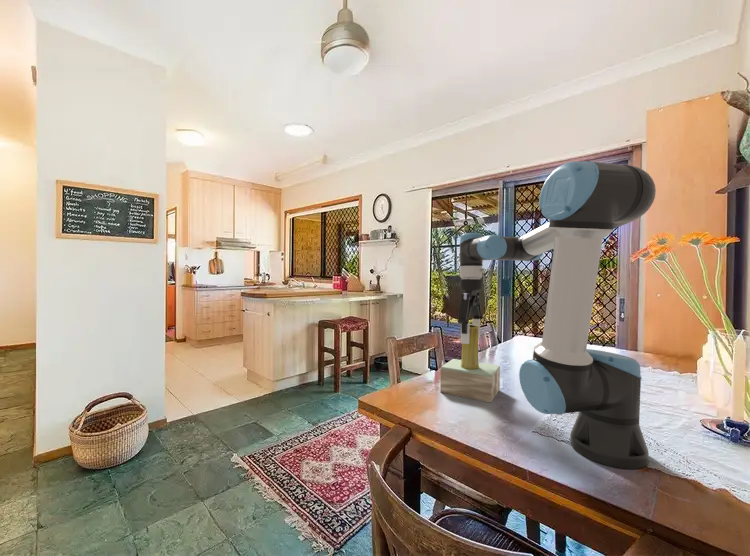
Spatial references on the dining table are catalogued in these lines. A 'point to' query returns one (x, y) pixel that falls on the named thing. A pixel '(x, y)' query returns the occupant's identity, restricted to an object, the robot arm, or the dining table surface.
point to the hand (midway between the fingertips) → (470, 340)
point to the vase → (470, 350)
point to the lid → (482, 370)
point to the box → (470, 385)
